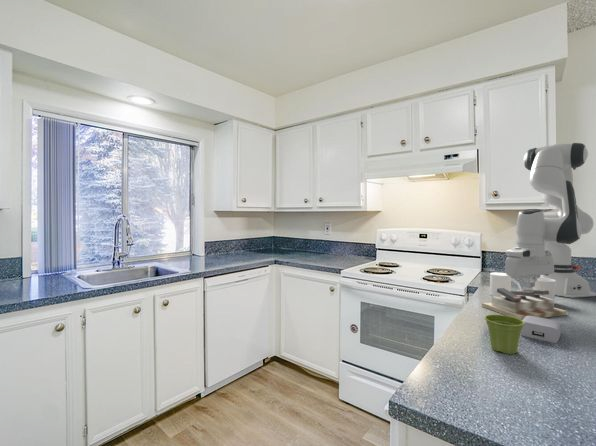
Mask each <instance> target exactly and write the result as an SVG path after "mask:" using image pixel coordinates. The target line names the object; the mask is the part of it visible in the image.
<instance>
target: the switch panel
mask: <svg viewBox="0 0 596 446" xmlns="http://www.w3.org/2000/svg"><path fill="white" fill-rule="evenodd" d="M517 296H519V297H521V298H522V299H521V301H520V302H513V301H512V300H510V299H508V298H507V297H505V296H491V301H490V302H482V303H481V307H482V308H485V309H487V310H490V311H493V312H496V313H498V314H500V315H505V316H510V317H514V318H517V319H520V320H523V319H524V318H525V317H526V316H535V317H540V318H549V317H551V318H553V317H558V316H559V317H561V316H567V314H568V313H567V310H564V309H561V308H557V307H555V298H554V299H550V298H546V297H542V296H540V295H535V296H521V295H517Z"/></svg>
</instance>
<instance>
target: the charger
mask: <svg viewBox="0 0 596 446" xmlns="http://www.w3.org/2000/svg"><path fill="white" fill-rule="evenodd" d="M522 321H523V322H524V325H523V326H522V330H521V332H520V335H521V336H522V337H527V338H529V339H530V338H531V339H534V338H535V340H539V341H544V342H548V343H553V344H557V343H558V342H559V339H560V337H561V334H562V323H561V322H560V321H559V320H556V319H549V318H547V317H544V318H540V317H535V316H526V317H525V318H524V319H523V320H522Z"/></svg>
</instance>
